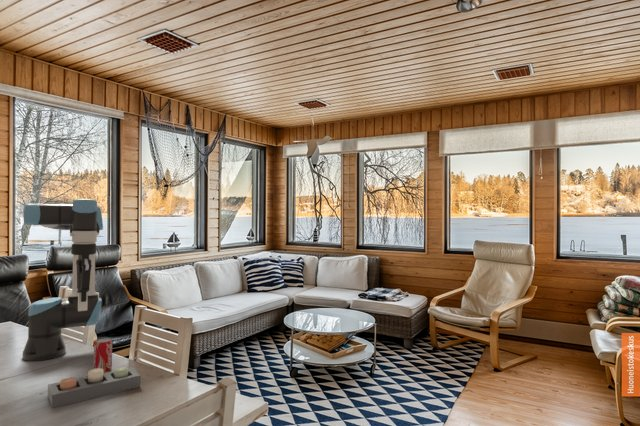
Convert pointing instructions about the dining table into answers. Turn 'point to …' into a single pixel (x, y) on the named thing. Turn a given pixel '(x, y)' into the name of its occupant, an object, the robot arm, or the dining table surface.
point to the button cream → (95, 375)
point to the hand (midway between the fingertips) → (82, 310)
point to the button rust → (68, 383)
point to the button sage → (120, 372)
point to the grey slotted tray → (92, 388)
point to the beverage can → (103, 354)
